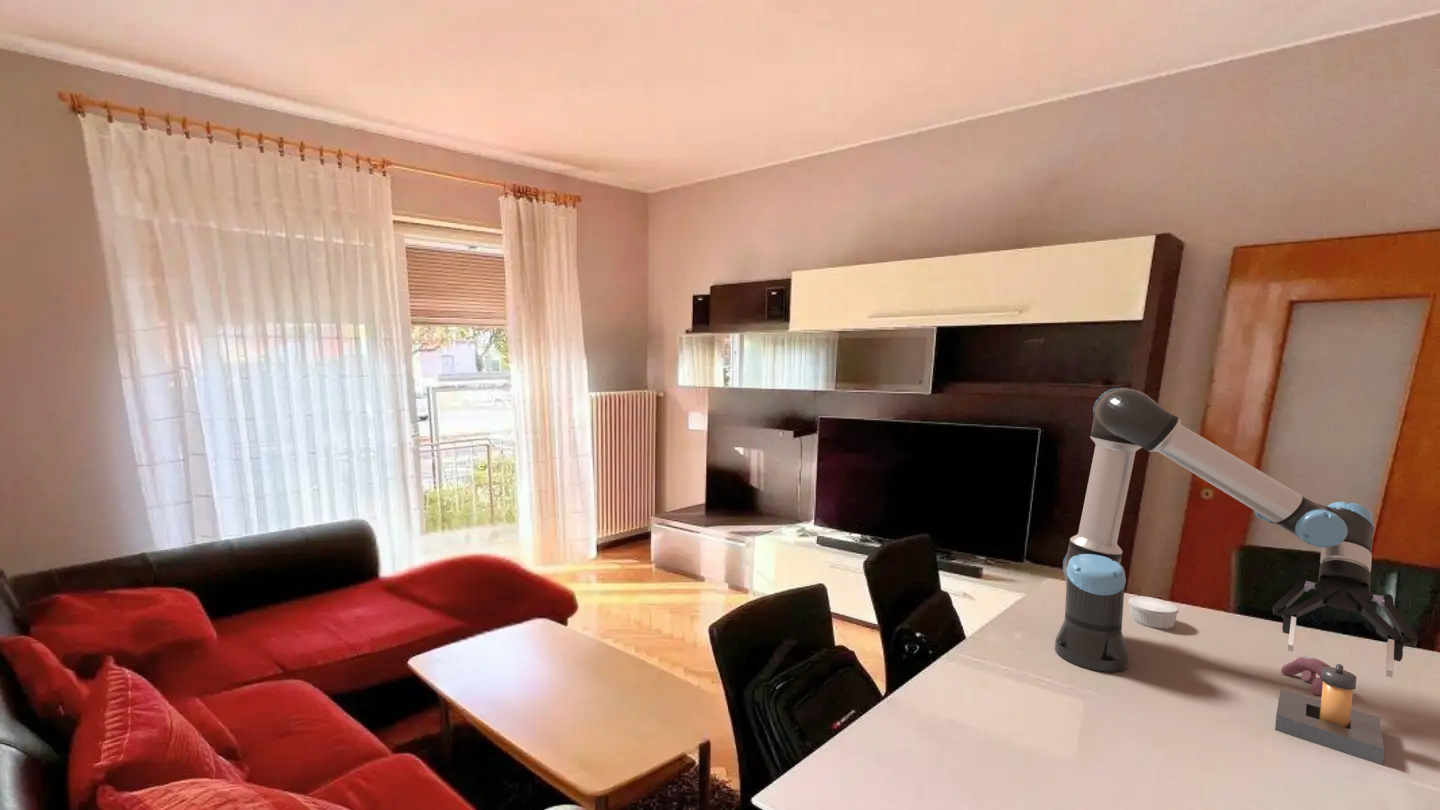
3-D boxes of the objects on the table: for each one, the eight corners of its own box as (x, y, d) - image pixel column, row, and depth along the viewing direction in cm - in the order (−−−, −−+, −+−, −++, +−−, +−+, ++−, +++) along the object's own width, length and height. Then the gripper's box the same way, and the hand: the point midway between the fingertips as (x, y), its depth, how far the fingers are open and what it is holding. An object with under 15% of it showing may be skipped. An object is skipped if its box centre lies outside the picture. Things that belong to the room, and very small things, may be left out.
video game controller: (1331, 704, 128) (1351, 678, 127) (1310, 693, 129) (1330, 666, 128) (1296, 681, 138) (1314, 656, 137) (1276, 670, 138) (1294, 645, 137)
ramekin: (1133, 626, 162) (1134, 607, 162) (1122, 611, 172) (1124, 593, 172) (1183, 634, 158) (1184, 614, 158) (1169, 618, 168) (1171, 599, 168)
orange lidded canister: (1316, 732, 115) (1322, 664, 114) (1316, 722, 118) (1322, 655, 117) (1351, 743, 112) (1358, 673, 111) (1350, 733, 115) (1356, 664, 114)
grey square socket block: (1275, 729, 116) (1276, 714, 116) (1279, 702, 126) (1280, 688, 126) (1382, 765, 106) (1384, 748, 106) (1378, 732, 116) (1379, 717, 116)
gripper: (1432, 594, 121) (1433, 694, 111) (1265, 563, 138) (1253, 646, 129) (1438, 575, 117) (1439, 676, 107) (1265, 545, 134) (1253, 630, 125)
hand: (1337, 660), depth 118 cm, fingers open, 13 cm apart
